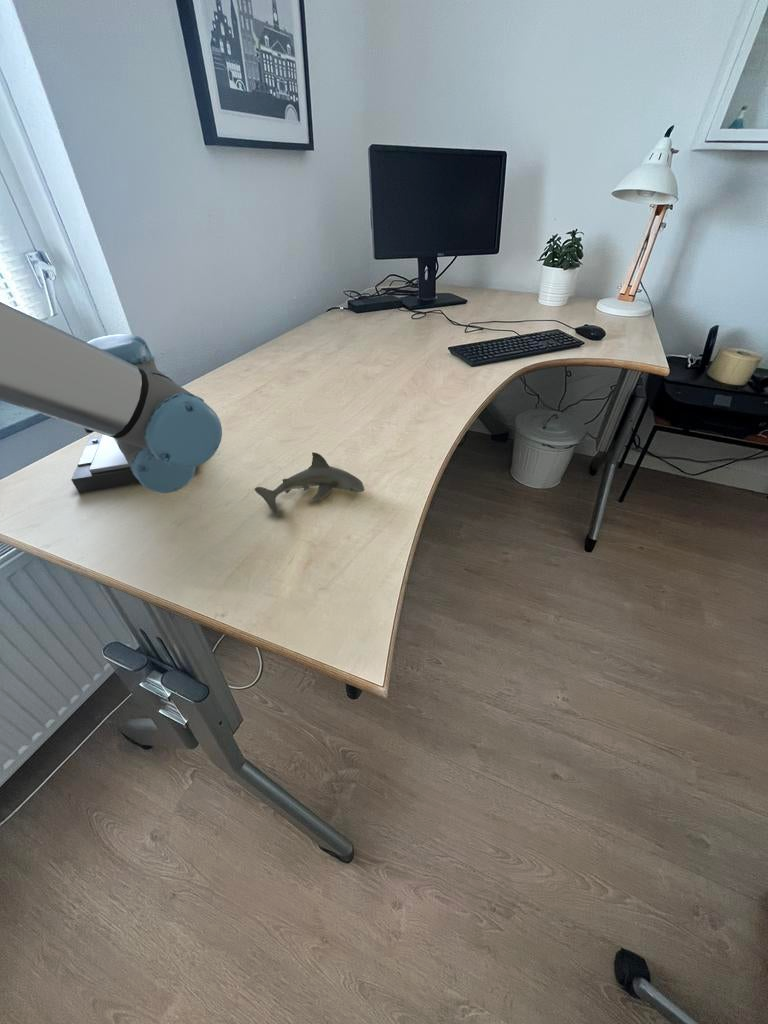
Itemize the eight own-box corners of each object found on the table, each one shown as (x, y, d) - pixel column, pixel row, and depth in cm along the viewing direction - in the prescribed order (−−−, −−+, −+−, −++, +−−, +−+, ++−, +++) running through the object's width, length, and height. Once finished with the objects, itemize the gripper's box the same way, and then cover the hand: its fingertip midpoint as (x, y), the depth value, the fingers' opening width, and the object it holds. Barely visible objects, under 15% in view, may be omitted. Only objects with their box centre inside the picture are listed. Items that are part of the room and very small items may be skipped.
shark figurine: (358, 523, 71) (355, 486, 66) (261, 516, 73) (251, 479, 68) (372, 474, 82) (370, 439, 77) (287, 468, 84) (280, 434, 79)
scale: (78, 493, 79) (68, 475, 77) (96, 449, 91) (88, 433, 88) (193, 473, 83) (187, 456, 81) (196, 434, 95) (191, 418, 93)
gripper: (86, 469, 65) (62, 413, 79) (202, 432, 73) (161, 387, 87) (62, 424, 60) (41, 373, 74) (188, 389, 68) (147, 350, 82)
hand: (105, 381), depth 81 cm, fingers closed on coffee mug, 4 cm apart
